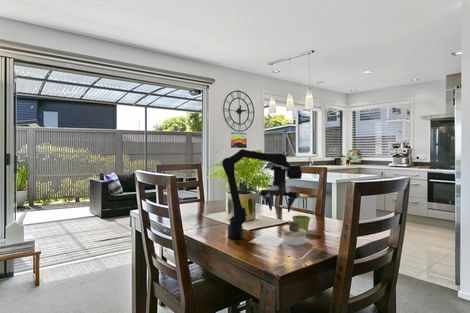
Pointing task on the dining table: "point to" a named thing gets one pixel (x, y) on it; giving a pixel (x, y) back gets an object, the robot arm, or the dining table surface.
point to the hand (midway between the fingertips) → (279, 211)
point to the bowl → (294, 240)
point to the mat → (267, 240)
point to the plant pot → (302, 221)
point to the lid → (294, 230)
